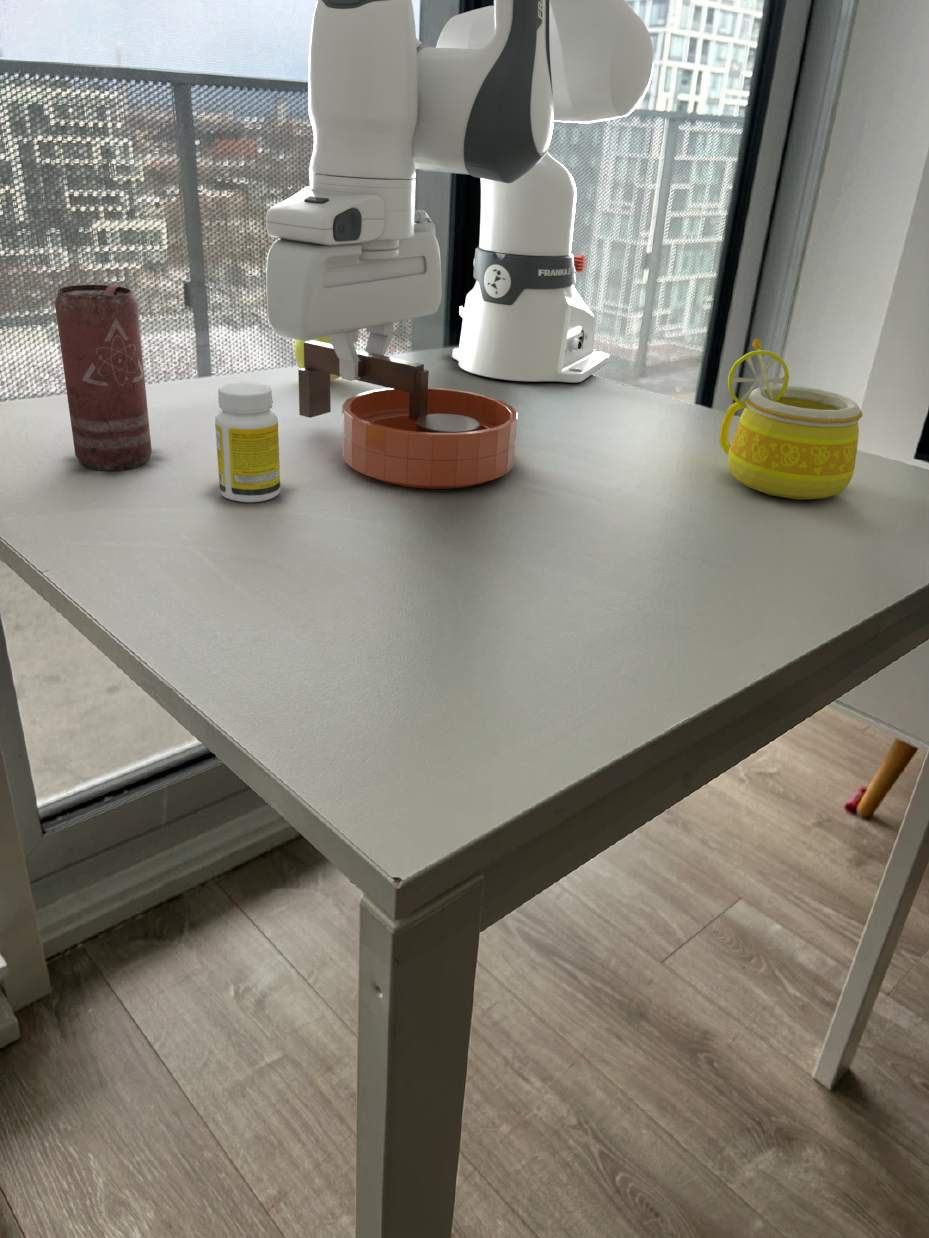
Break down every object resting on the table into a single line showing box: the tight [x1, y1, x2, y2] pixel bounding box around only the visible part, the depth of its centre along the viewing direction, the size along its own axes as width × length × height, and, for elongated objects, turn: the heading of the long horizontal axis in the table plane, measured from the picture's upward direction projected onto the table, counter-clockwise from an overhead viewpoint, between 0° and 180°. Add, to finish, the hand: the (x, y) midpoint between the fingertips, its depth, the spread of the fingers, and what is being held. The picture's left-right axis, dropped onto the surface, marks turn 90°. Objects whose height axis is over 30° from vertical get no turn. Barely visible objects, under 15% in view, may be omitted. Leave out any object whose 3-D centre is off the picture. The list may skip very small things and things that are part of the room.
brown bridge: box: [297, 340, 480, 433], centre depth 86 cm, size 19×6×7 cm, turn 56°
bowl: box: [341, 386, 518, 490], centre depth 83 cm, size 15×15×5 cm
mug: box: [718, 338, 863, 501], centre depth 83 cm, size 13×11×12 cm
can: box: [54, 284, 153, 472], centre depth 77 cm, size 6×6×14 cm
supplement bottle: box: [214, 382, 281, 503], centre depth 73 cm, size 5×5×8 cm
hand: (361, 376), depth 86 cm, fingers closed on brown bridge
